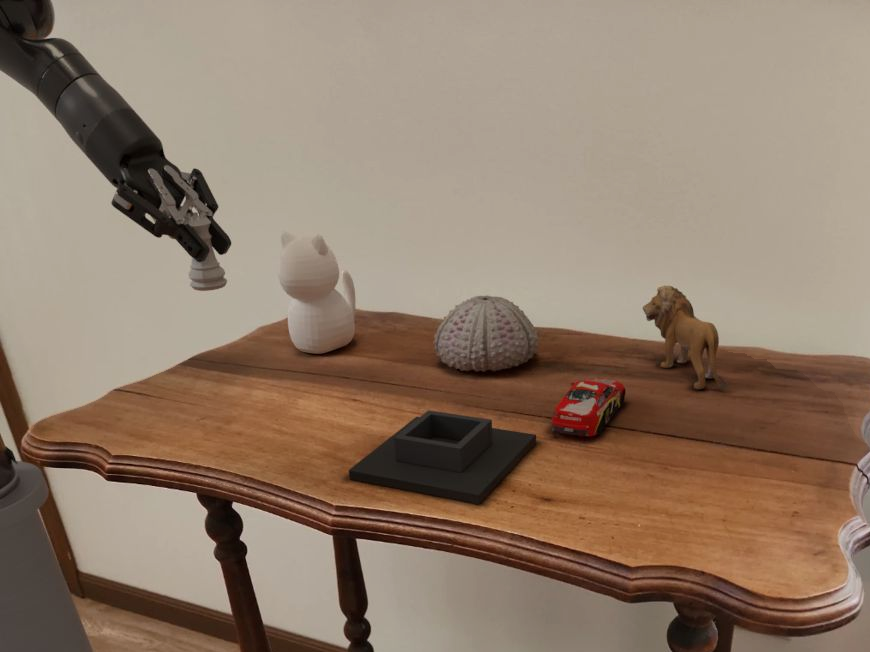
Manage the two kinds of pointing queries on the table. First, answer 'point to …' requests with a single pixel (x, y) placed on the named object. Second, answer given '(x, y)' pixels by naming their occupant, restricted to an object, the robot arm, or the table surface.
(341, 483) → the table surface
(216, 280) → the rook chess piece
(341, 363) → the table surface
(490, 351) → the sea urchin shell
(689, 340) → the lion figurine
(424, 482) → the socket pad
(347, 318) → the cat figurine
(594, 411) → the race car
